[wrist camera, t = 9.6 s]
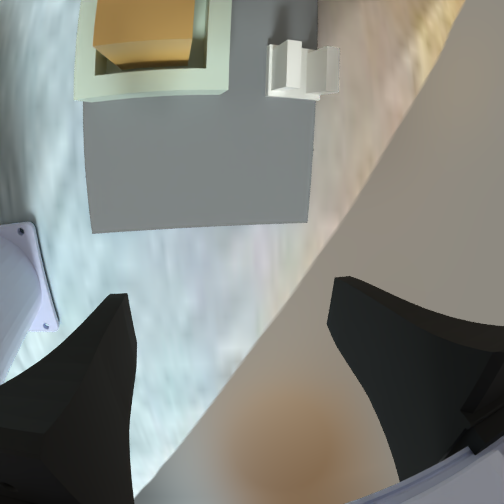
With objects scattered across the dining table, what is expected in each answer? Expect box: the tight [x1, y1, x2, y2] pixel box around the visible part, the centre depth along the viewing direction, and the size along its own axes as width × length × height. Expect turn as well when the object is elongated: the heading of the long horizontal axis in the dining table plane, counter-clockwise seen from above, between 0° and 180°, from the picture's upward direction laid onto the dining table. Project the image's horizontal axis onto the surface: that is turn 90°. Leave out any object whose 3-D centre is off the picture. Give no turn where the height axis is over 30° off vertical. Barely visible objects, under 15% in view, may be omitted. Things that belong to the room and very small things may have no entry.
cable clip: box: [265, 40, 340, 101], centre depth 15 cm, size 3×3×3 cm
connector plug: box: [93, 0, 195, 70], centre depth 10 cm, size 3×3×6 cm
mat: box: [83, 0, 318, 234], centre depth 15 cm, size 13×18×1 cm
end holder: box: [74, 0, 232, 103], centre depth 12 cm, size 7×7×3 cm
